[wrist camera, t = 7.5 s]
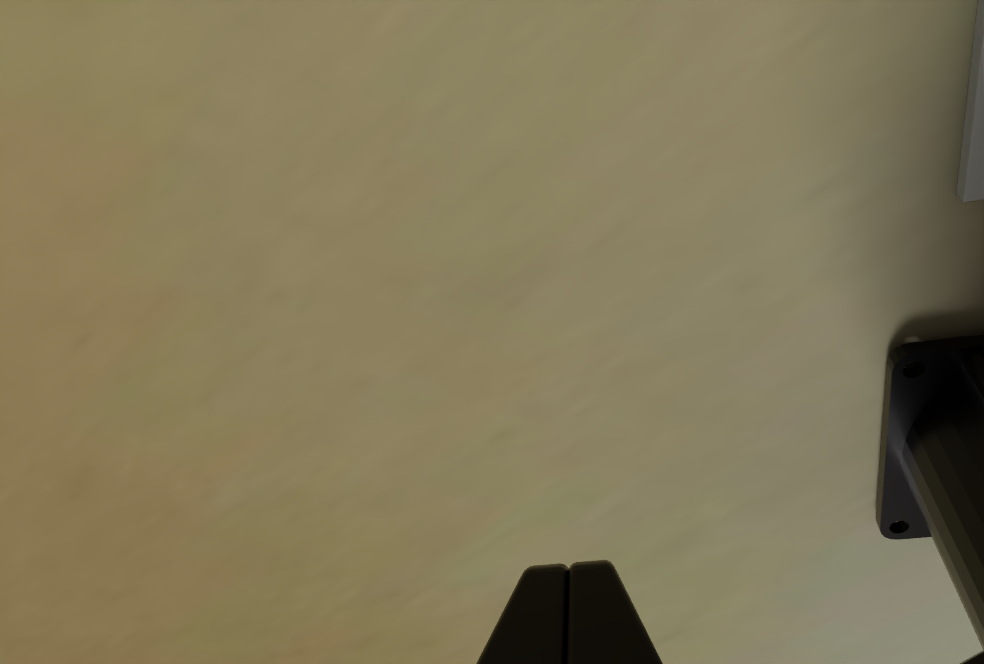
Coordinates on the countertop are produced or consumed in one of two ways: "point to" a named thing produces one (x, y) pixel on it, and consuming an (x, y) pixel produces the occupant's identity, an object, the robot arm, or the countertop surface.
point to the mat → (974, 121)
